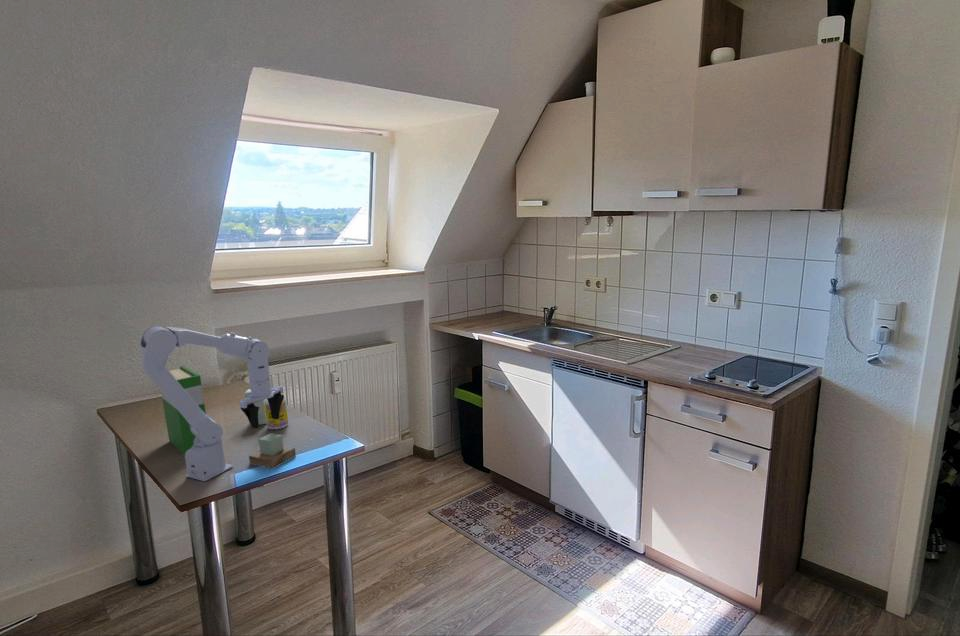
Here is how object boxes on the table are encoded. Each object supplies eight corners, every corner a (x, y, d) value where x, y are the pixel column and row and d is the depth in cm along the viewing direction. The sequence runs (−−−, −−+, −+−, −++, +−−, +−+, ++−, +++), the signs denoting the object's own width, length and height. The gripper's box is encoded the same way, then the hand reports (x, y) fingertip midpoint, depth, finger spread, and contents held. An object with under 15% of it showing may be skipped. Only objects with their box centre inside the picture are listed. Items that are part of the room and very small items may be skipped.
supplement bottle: (266, 431, 184) (262, 394, 182) (268, 424, 191) (264, 388, 188) (287, 428, 186) (283, 392, 184) (289, 421, 192) (284, 386, 190)
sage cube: (272, 455, 159) (270, 441, 158) (260, 453, 161) (258, 439, 160) (283, 449, 163) (281, 435, 162) (272, 447, 165) (270, 433, 164)
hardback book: (169, 441, 180) (157, 370, 175) (193, 434, 185) (183, 365, 180) (185, 457, 167) (173, 381, 162) (211, 449, 172) (200, 375, 167)
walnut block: (272, 470, 156) (271, 460, 156) (250, 465, 160) (248, 455, 160) (296, 457, 164) (294, 447, 164) (273, 452, 168) (272, 443, 168)
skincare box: (270, 420, 195) (266, 387, 192) (266, 424, 190) (262, 391, 188) (252, 421, 194) (248, 388, 192) (248, 426, 190) (243, 392, 188)
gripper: (248, 388, 154) (255, 433, 157) (288, 373, 167) (293, 416, 170) (231, 385, 158) (238, 430, 160) (271, 371, 170) (277, 413, 173)
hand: (265, 423), depth 165 cm, fingers open, 7 cm apart
